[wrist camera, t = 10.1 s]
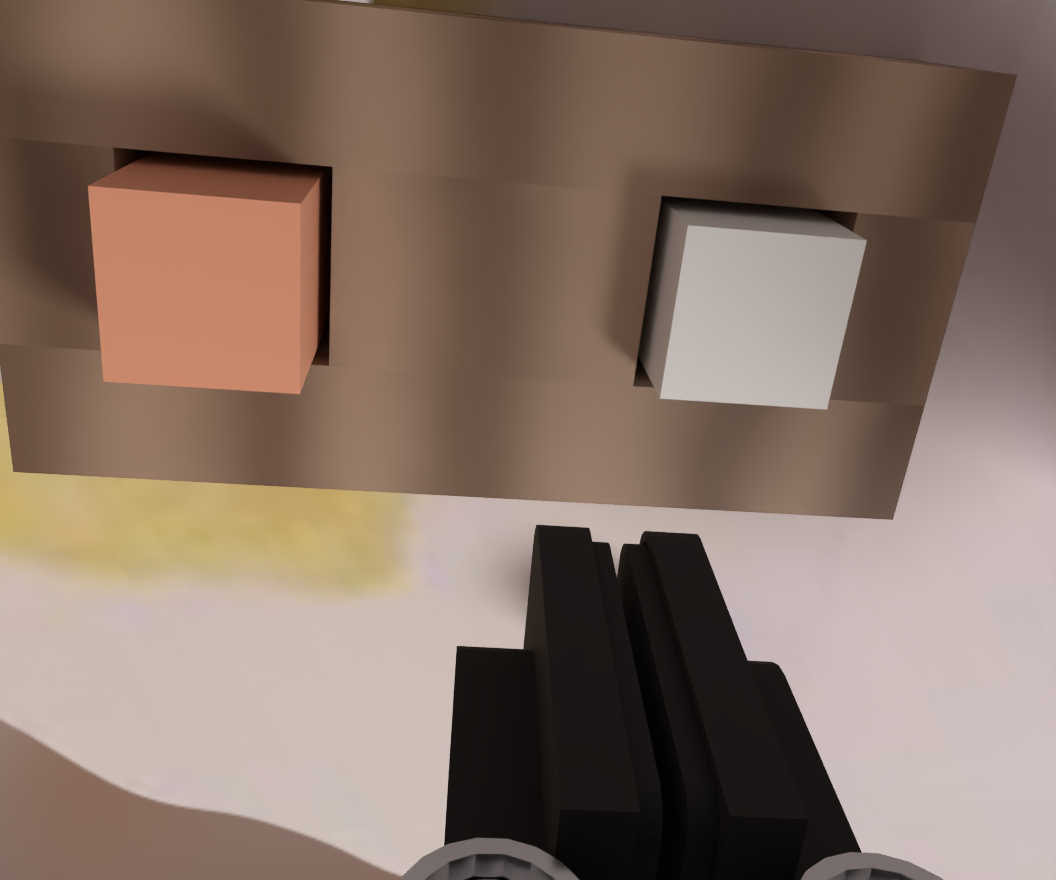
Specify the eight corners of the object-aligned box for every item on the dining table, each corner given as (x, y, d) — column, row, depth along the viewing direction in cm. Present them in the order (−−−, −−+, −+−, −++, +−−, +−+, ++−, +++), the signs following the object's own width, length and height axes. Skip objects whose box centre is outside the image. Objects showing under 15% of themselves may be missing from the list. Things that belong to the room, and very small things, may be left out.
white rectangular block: (783, 190, 34) (867, 240, 27) (755, 330, 36) (826, 409, 29) (639, 178, 33) (688, 225, 27) (619, 320, 35) (659, 398, 29)
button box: (922, 61, 33) (1016, 74, 27) (829, 445, 38) (892, 519, 33) (41, -31, 30) (-50, -37, 24) (80, 398, 36) (13, 471, 30)
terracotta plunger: (333, 157, 31) (300, 203, 24) (331, 311, 33) (299, 394, 26) (169, 143, 30) (88, 186, 24) (176, 300, 32) (103, 381, 26)
